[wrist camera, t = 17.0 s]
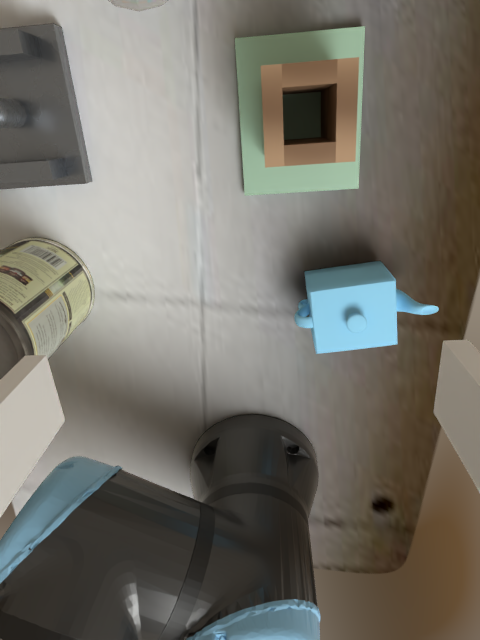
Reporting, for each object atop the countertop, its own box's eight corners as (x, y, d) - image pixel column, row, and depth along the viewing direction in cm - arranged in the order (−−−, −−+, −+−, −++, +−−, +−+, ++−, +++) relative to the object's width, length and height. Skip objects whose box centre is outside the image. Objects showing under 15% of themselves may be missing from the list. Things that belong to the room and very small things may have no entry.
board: (356, 186, 39) (358, 188, 38) (245, 193, 40) (244, 195, 39) (362, 28, 34) (364, 26, 33) (235, 40, 35) (234, 38, 34)
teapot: (414, 252, 42) (443, 278, 35) (414, 310, 44) (441, 345, 37) (288, 270, 43) (292, 298, 36) (295, 325, 45) (300, 362, 39)
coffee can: (6, 328, 47) (-91, 405, 35) (-13, 234, 43) (-131, 282, 30) (100, 334, 47) (38, 415, 34) (91, 240, 43) (16, 291, 30)
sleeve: (335, 152, 37) (355, 161, 29) (265, 157, 38) (265, 167, 30) (337, 71, 35) (359, 57, 27) (261, 78, 35) (260, 65, 27)
